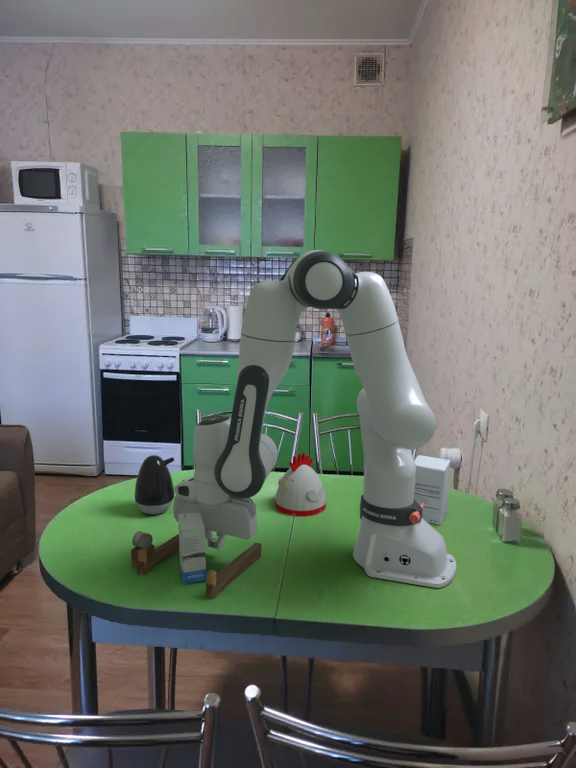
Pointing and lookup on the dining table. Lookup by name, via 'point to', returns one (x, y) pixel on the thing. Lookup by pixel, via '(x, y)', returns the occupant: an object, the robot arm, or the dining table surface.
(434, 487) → the supplement box
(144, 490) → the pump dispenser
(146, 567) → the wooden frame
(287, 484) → the kitchen timer
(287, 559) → the dining table surface
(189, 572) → the ink box
